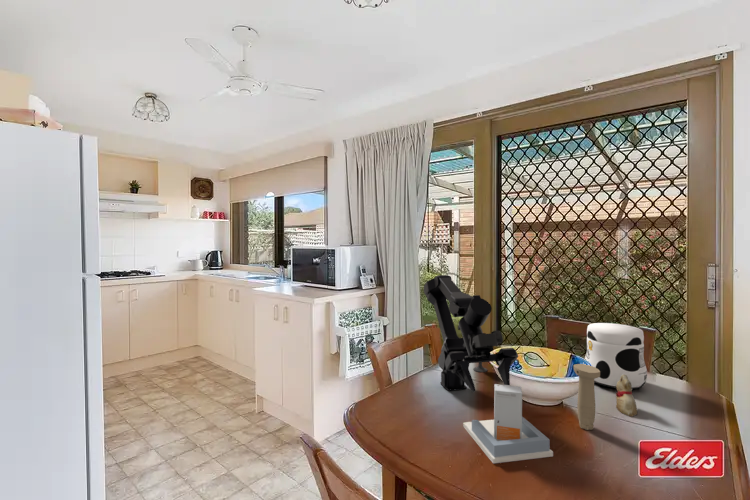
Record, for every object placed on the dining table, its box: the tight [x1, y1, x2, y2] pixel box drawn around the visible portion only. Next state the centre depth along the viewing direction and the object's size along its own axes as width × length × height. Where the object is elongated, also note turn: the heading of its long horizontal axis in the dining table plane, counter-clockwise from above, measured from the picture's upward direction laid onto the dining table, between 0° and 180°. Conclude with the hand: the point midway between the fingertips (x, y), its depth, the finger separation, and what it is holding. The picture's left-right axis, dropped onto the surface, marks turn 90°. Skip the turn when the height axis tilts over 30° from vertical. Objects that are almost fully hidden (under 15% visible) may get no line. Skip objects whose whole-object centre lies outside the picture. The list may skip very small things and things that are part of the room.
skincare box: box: [493, 383, 523, 441], centre depth 88 cm, size 6×4×12 cm
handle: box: [573, 363, 600, 431], centre depth 94 cm, size 5×6×15 cm
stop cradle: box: [462, 416, 554, 464], centre depth 89 cm, size 16×14×4 cm
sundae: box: [472, 362, 489, 373], centre depth 136 cm, size 7×7×15 cm
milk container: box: [584, 322, 648, 390], centre depth 122 cm, size 17×17×18 cm
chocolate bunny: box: [615, 375, 638, 417], centre depth 104 cm, size 6×8×10 cm
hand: (491, 390), depth 95 cm, fingers open, 9 cm apart
